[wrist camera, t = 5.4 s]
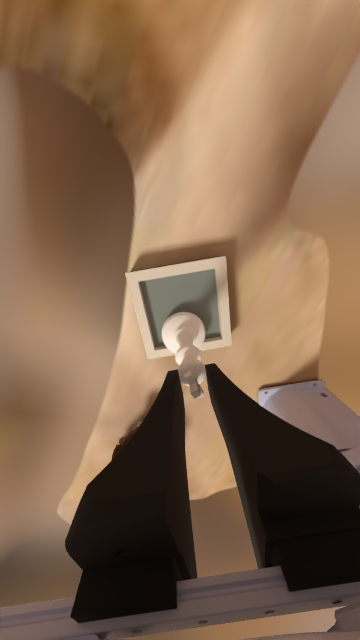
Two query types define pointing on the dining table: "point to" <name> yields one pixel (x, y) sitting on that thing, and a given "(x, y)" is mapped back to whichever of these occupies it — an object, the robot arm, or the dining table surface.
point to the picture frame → (182, 301)
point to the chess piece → (186, 348)
